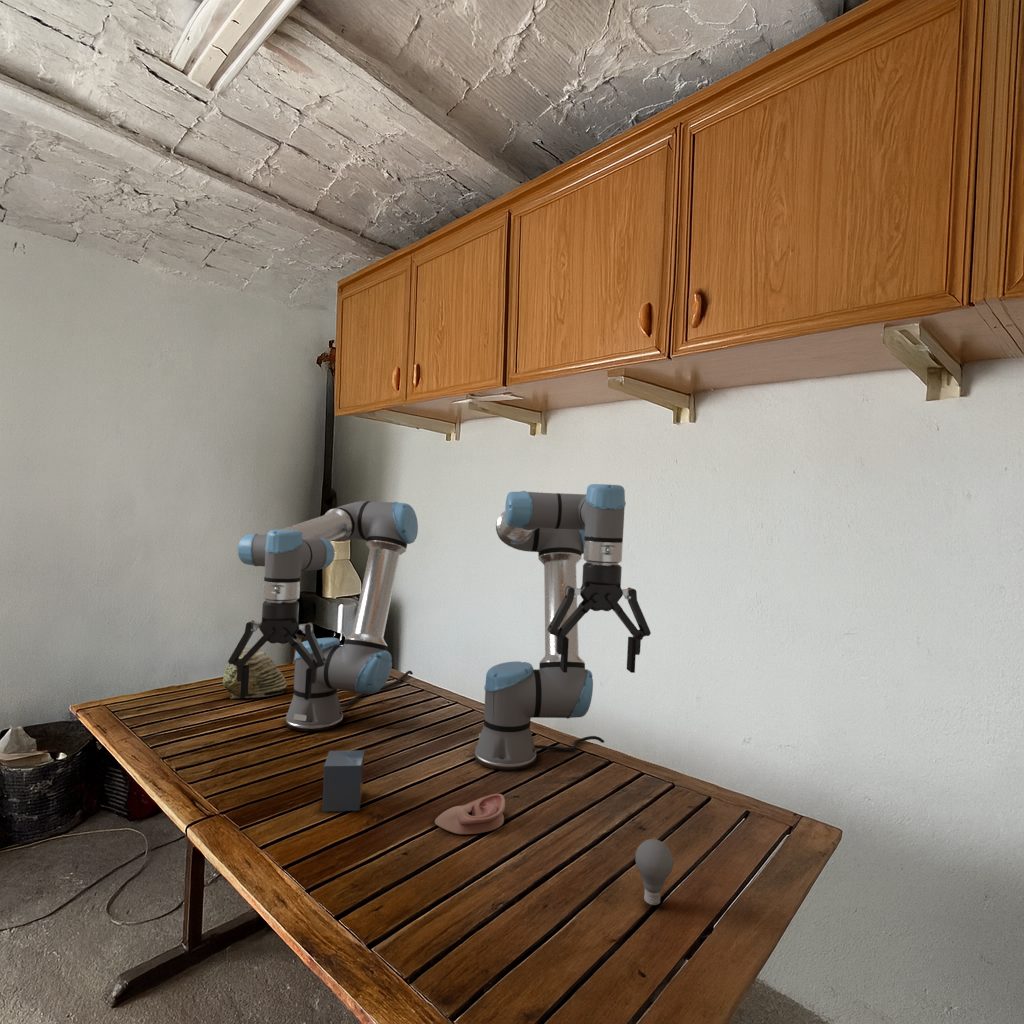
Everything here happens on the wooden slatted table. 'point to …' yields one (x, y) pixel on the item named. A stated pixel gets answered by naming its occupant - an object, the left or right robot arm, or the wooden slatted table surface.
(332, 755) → the brick
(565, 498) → the right robot arm
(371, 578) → the left robot arm
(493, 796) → the anatomical model
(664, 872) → the light bulb
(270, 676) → the fossil
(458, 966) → the wooden slatted table surface
